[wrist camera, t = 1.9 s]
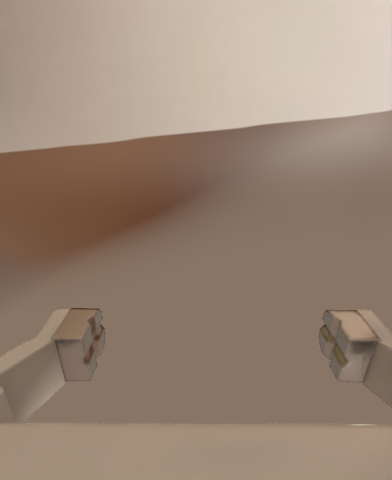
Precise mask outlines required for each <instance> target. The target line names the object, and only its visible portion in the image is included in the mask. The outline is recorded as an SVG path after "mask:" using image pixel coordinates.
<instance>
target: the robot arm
mask: <svg viewBox="0 0 392 480" xmlns="http://www.w3.org/2000/svg"><path fill="white" fill-rule="evenodd" d="M102 319H103V316H102V311H101V310H100V309H85V308H84V309H83V308H58V309H56V310H55V311H54V313H53V314H52V315H51V317H50V318H49V319H48V321H47V322H46V324H45V325H44V326H43V328H42V329H41V331H40V332H39V333H38V335H37V336H36V337H35V339H34V340H28V341H26V342H25V343H23V344H21V345H19V346H18V347H16V348H14V349H12V350H11V351H9V352H8V353H6V354H4V355H2V356H0V480H392V424H244V423H242V424H241V423H239V424H238V423H234V424H233V423H227V424H225V423H23V422H24V421H25V420H27V419H28V418H29V417H30V416H31V415H32V414H33V413H34V412H35V411H36V410H37V409H38V408H39V407H40V406H41V405H43V404H44V403H45V402H46V401H47V400H48V399H49V398H50V397H51V396H52V395H53V394H54V393H55V392H56V391H57V390H59V389H60V388H61V387H62V386H63V385H64V384H65V383H66V382H65V381H91V380H92V377H93V375H94V372H95V370H96V367H97V359H96V358H98V357H99V356H100V355H101V354H102V352H103V349H104V344H105V328H104V327H103V326H102V325H101V321H102ZM322 319H323V321H324V323H325V325H324V326H322V327H321V328H320V331H319V345H320V348H321V351H322V352H323V355H324V356H326V357H327V358H328V359H330V360H331V361H330V365H329V366H330V368H331V370H332V372H333V374H334V376H335V377H336V379H337V381H338V382H356V383H357V382H358V383H364V385H365V386H366V387H368V388H369V389H370V390H371V391H372V392H373V393H374V394H376V395H377V396H378V397H379V398H380V399H382V400H383V401H384V402H385V403H386V404H387V405H389V406H390V407H391V408H392V333H391V332H390V331H389V330H388V329H387V328H386V326H385V325H384V324H383V323H382V322H381V321H380V320H379V319H378V318H377V316H376V315H375V314H374V313H373V312H372V311H371V310H369V309H359V310H358V309H356V310H326V311H325V312H324V314H323V318H322Z"/></svg>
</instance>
